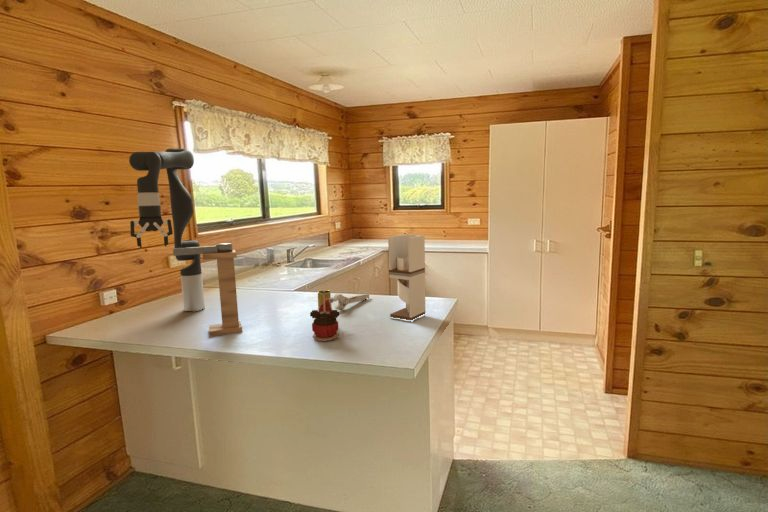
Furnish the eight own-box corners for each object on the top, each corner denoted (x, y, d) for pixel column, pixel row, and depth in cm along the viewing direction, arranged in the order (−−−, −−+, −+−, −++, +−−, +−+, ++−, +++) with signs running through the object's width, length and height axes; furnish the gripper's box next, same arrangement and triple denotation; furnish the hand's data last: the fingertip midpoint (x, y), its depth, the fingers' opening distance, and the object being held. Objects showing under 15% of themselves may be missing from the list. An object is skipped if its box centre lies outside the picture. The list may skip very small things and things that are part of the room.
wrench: (369, 304, 220) (335, 312, 194) (366, 304, 221) (332, 312, 195) (369, 288, 220) (336, 295, 193) (366, 288, 221) (332, 294, 194)
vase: (321, 328, 173) (319, 294, 171) (316, 324, 178) (314, 291, 176) (335, 326, 176) (333, 292, 174) (330, 322, 181) (328, 289, 179)
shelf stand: (209, 330, 175) (202, 251, 171) (240, 325, 180) (234, 249, 175) (209, 336, 167) (202, 254, 163) (242, 331, 172) (236, 252, 167)
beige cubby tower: (404, 312, 194) (403, 234, 188) (425, 315, 187) (424, 235, 182) (390, 318, 184) (388, 237, 179) (411, 322, 178) (409, 238, 173)
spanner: (174, 254, 166) (173, 246, 165) (232, 250, 174) (231, 242, 173) (173, 256, 160) (172, 248, 160) (233, 251, 168) (232, 244, 168)
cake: (309, 342, 158) (306, 294, 155) (314, 334, 167) (312, 288, 164) (338, 342, 157) (336, 293, 154) (341, 333, 166) (339, 288, 164)
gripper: (169, 204, 173) (172, 245, 175) (128, 205, 166) (132, 247, 168) (170, 204, 166) (174, 246, 168) (127, 205, 159) (131, 249, 161)
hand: (153, 246), depth 168 cm, fingers open, 8 cm apart
